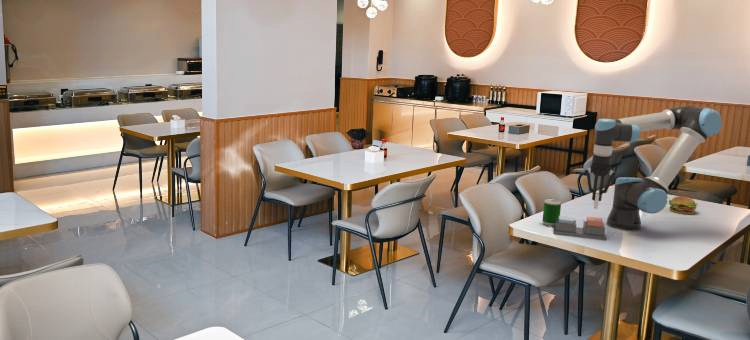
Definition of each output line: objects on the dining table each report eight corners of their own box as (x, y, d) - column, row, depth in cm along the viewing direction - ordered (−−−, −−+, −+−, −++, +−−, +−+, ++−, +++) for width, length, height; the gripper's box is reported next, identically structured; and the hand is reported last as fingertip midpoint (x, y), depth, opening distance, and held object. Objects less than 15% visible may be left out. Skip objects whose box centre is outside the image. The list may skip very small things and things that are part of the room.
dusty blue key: (573, 223, 298) (573, 217, 298) (573, 227, 292) (574, 220, 292) (558, 222, 300) (558, 215, 299) (558, 225, 294) (559, 219, 293)
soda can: (559, 227, 304) (562, 202, 302) (542, 226, 305) (545, 200, 303) (558, 223, 311) (560, 198, 309) (541, 221, 313) (544, 197, 310)
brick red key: (601, 224, 295) (602, 218, 295) (602, 228, 289) (603, 221, 289) (586, 223, 297) (587, 216, 296) (586, 226, 291) (587, 220, 290)
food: (698, 211, 349) (700, 196, 348) (694, 216, 338) (696, 201, 336) (669, 206, 356) (671, 192, 355) (665, 211, 345) (667, 196, 343)
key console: (604, 233, 298) (605, 222, 297) (605, 240, 287) (607, 229, 286) (553, 227, 303) (554, 217, 302) (553, 234, 293) (554, 223, 292)
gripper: (617, 155, 289) (610, 207, 293) (586, 152, 292) (579, 204, 296) (618, 157, 282) (611, 211, 286) (586, 154, 285) (580, 208, 289)
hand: (595, 207), depth 291 cm, fingers closed
